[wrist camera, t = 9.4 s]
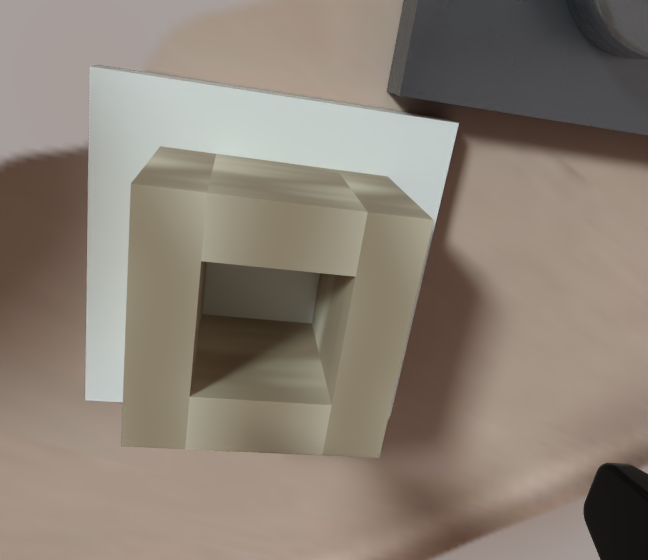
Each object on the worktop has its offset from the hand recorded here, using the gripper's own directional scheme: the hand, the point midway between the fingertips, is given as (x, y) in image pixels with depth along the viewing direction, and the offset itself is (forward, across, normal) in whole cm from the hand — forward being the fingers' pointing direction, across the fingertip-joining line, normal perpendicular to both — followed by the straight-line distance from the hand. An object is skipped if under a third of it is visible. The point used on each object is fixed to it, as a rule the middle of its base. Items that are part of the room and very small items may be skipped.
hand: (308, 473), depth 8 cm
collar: (+10, 0, +1) cm, 10 cm away
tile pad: (+11, 0, +1) cm, 11 cm away
